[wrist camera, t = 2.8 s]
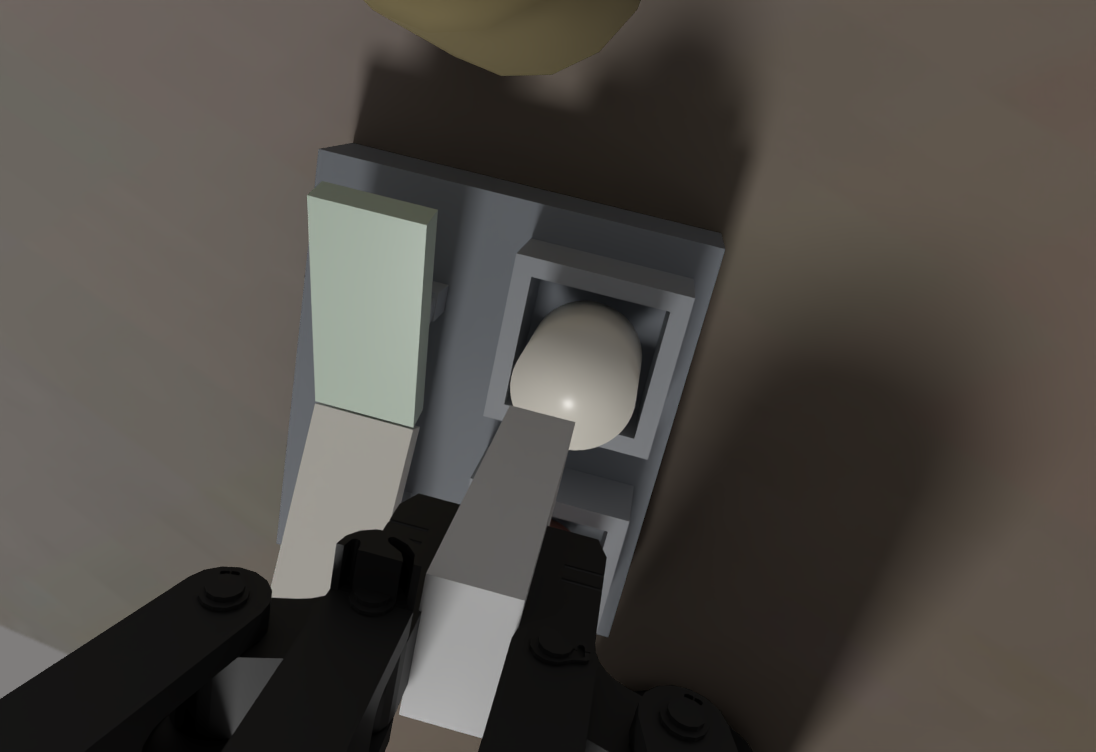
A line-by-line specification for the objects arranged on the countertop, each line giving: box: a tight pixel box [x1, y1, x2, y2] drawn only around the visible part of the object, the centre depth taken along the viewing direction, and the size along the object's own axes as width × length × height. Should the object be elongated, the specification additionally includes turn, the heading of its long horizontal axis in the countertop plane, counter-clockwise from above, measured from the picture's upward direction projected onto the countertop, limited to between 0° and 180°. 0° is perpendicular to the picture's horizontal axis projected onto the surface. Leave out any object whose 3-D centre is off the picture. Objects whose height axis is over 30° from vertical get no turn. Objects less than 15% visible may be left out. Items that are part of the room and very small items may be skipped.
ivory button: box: [510, 301, 642, 450], centre depth 24 cm, size 4×4×3 cm
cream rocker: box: [271, 403, 420, 599], centre depth 29 cm, size 4×8×2 cm, turn 168°
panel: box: [277, 143, 725, 637], centre depth 30 cm, size 14×16×6 cm
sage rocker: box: [307, 181, 438, 427], centre depth 26 cm, size 4×8×2 cm, turn 168°
